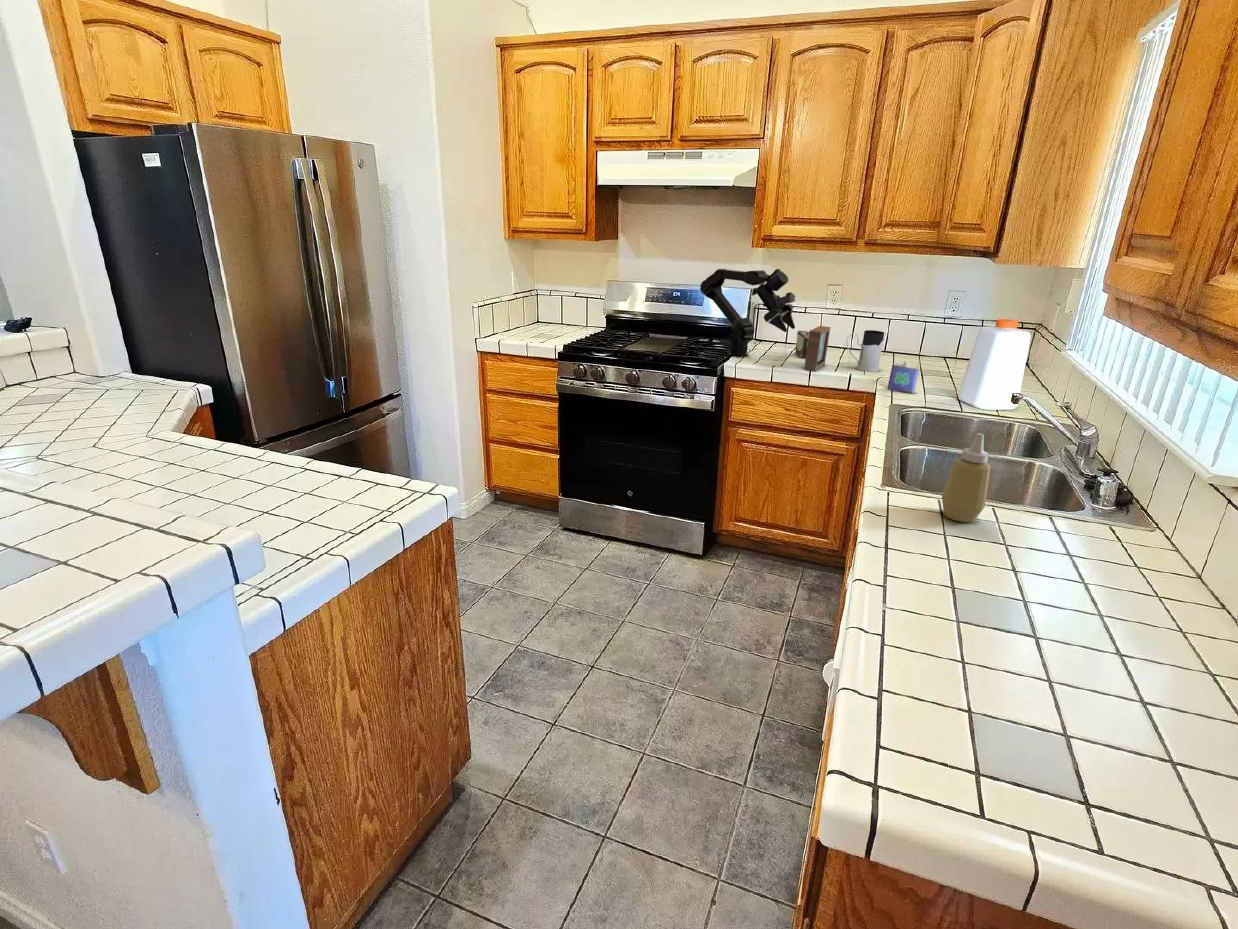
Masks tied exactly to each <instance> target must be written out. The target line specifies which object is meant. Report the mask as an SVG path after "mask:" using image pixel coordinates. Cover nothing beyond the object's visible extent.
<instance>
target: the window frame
mask: <svg viewBox="0 0 1238 929" xmlns="http://www.w3.org/2000/svg"><path fill="white" fill-rule="evenodd" d="M808 332H809V339H808V346H807V353H806V358H804V367H803V371H810V372H816V371H818V370H819V369H820V368H822V367H824V366H825V364H826V359H827V352H828V346H829V339H830V334H831V326H825V325H824V326H823V325H819V326H816V327H814V328H812V329H810V330H809V331H808Z"/></svg>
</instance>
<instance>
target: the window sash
mask: <svg viewBox="0 0 1238 929" xmlns="http://www.w3.org/2000/svg"><path fill="white" fill-rule="evenodd" d="M807 341H808V339H807V338H804V343H803V350H802V357H805V356H806V347H807Z"/></svg>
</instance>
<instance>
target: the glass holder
mask: <svg viewBox="0 0 1238 929" xmlns="http://www.w3.org/2000/svg"><path fill="white" fill-rule="evenodd" d="M852 335H855V336H856V338H857V345H859V346H860V351H859V357H858V358H857V357H855V355H854V354H853V353H852V352H851V351H850V347H849V338H850V337H851V336H852ZM884 337H885V332H884V331H881V330H875V329H874V330H873V329H869V330H867V329H866V330H864V331H863V338H862V341H861V342H862V343H859V342H860V338H859V335H858V334H857V333H850V334H849V335H848V336H847V338H846V348H847V351H848V353H849V354H850V355H851V356H852V358H854V359H855V360H856V361H857V366H856V369H857V370H858V371H863V372H868V373H869V372H871V373H877V372H880V368H879V367H880V361H881V356H882V351H883V345H884V341H885V340H884V339H885V338H884Z"/></svg>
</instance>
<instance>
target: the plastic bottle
mask: <svg viewBox="0 0 1238 929" xmlns="http://www.w3.org/2000/svg"><path fill="white" fill-rule="evenodd" d="M995 322H996V323H995V325H994V326H993V325H991V326H982V327H980V328H979V329H978V332H977V335H976V338H975V342H974V343H973V344H974V345H973V347H972V350H971V354H970V357H969V360H968V362H967V363H968V364H967V366H966V369H965V372H964V375H963V379H962V382H961V384H960V388H959V391H958V395H957V398H958V400H959V401H961V402H963V403H965V404H967V405H969V406H972V407H975V408H977V409H981V410H986V411H1004V410H1005V411H1007V410H1008V411H1010V410H1014V409H1016V408H1017V407H1018V405H1019V403H1018V404H1013V403H1012V402H1011V397H1012V393H1020V394H1021V390H1022V384H1023V380H1024V374H1025V369H1026V364H1027V363H1026V362H1027V359H1028V353H1029V348H1030V343H1031V338H1032V335H1031V333H1030V332H1029V331H1027V330H1024V329H1019V328H1018V326H1019V321H1018V320H1016V319H1009V318H998V319H996V321H995Z"/></svg>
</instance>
